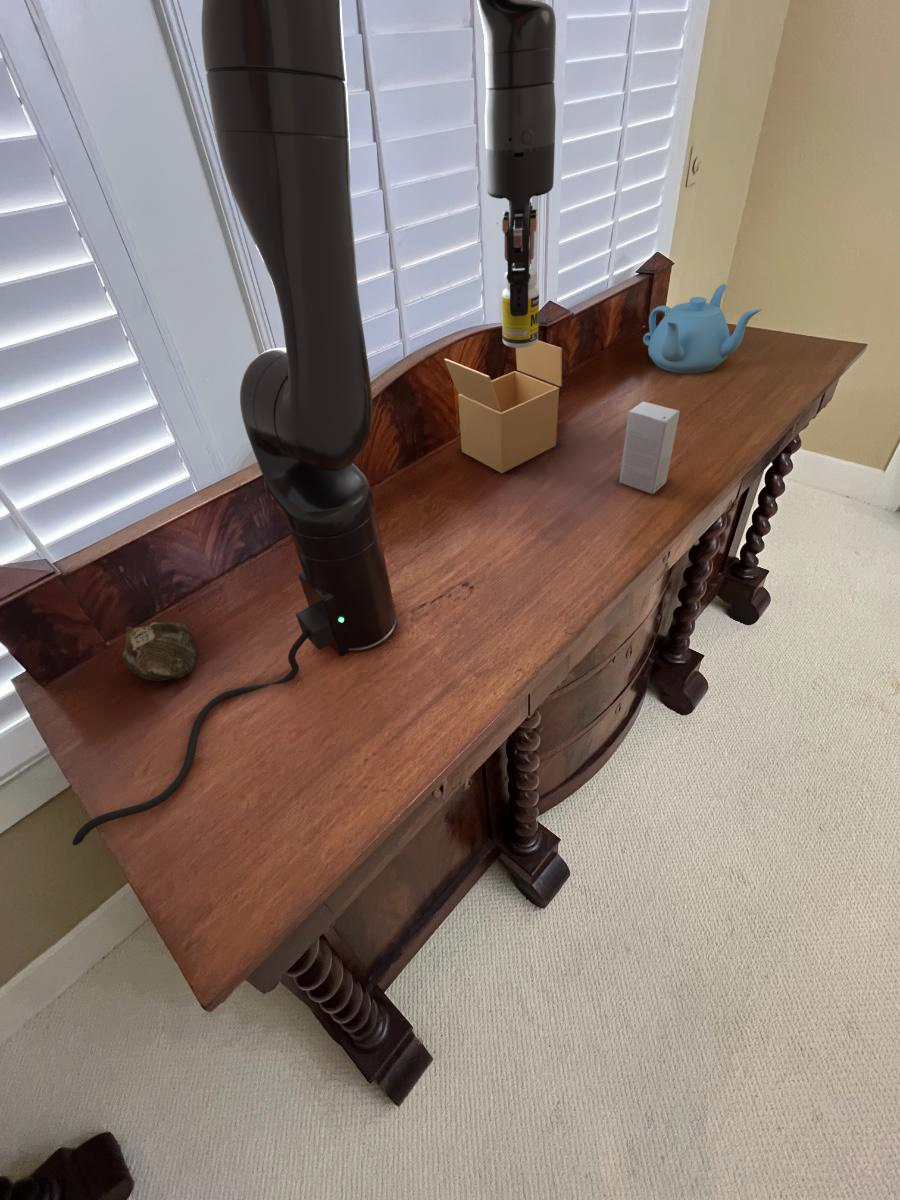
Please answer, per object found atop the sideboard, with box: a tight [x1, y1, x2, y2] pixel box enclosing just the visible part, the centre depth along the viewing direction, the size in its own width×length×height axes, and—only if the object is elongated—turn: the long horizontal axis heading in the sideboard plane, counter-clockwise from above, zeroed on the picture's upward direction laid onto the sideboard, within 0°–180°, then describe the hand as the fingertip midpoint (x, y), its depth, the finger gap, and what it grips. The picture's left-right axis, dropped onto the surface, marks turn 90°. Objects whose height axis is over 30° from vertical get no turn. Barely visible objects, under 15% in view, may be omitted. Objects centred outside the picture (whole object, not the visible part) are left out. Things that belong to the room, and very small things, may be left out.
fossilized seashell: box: [121, 621, 197, 682], centre depth 69 cm, size 8×7×10 cm
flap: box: [444, 358, 501, 411], centre depth 90 cm, size 6×10×1 cm
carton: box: [457, 339, 563, 474], centre depth 97 cm, size 14×10×17 cm
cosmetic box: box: [618, 401, 681, 495], centre depth 87 cm, size 6×4×12 cm
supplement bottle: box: [501, 267, 540, 349], centre depth 75 cm, size 5×5×8 cm
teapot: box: [642, 283, 763, 375], centre depth 119 cm, size 17×19×12 cm
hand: (519, 307), depth 75 cm, fingers closed on supplement bottle, 4 cm apart
